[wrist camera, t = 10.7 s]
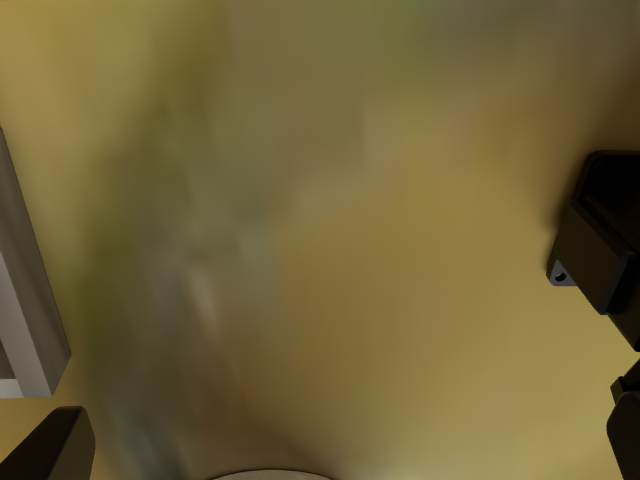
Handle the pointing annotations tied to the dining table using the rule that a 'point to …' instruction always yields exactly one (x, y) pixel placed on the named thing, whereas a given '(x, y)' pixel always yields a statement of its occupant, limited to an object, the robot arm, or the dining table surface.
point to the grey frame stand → (25, 301)
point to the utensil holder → (272, 475)
